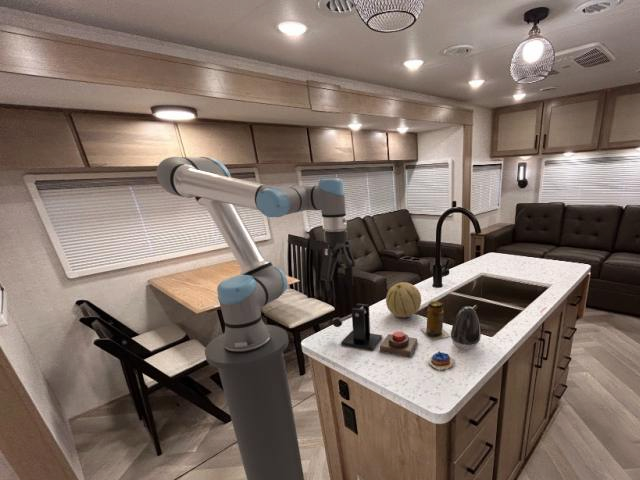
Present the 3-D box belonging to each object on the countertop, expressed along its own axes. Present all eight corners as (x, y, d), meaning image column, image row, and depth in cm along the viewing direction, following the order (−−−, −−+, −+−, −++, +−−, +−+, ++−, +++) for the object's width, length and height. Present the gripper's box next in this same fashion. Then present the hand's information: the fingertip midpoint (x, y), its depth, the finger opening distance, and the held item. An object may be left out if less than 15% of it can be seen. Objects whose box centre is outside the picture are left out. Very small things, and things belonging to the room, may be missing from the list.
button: (391, 340, 110) (391, 335, 109) (395, 334, 113) (395, 330, 113) (402, 342, 109) (402, 337, 108) (406, 336, 112) (406, 332, 111)
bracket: (341, 345, 114) (338, 309, 109) (352, 333, 122) (350, 300, 116) (372, 350, 111) (371, 314, 105) (381, 338, 118) (381, 304, 113)
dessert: (435, 370, 98) (432, 351, 100) (427, 371, 104) (424, 353, 106) (458, 367, 101) (455, 348, 102) (449, 368, 107) (446, 350, 108)
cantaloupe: (425, 311, 140) (426, 279, 134) (414, 325, 127) (415, 290, 122) (394, 306, 145) (393, 275, 139) (380, 319, 132) (379, 285, 127)
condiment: (438, 326, 127) (440, 299, 122) (448, 336, 119) (450, 307, 115) (421, 329, 124) (422, 301, 120) (431, 340, 117) (432, 310, 112)
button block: (379, 351, 110) (379, 341, 108) (388, 339, 118) (388, 329, 116) (410, 356, 107) (410, 346, 105) (417, 343, 115) (417, 333, 113)
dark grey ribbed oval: (485, 346, 113) (490, 306, 107) (468, 357, 107) (472, 316, 101) (461, 335, 120) (464, 298, 114) (444, 345, 113) (446, 306, 107)
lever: (334, 330, 116) (328, 321, 115) (338, 325, 119) (333, 317, 118) (364, 316, 110) (358, 307, 109) (368, 312, 113) (363, 303, 112)
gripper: (325, 238, 91) (332, 306, 99) (362, 223, 113) (365, 280, 121) (302, 236, 93) (311, 303, 101) (342, 223, 115) (347, 279, 123)
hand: (340, 291), depth 111 cm, fingers open, 13 cm apart
